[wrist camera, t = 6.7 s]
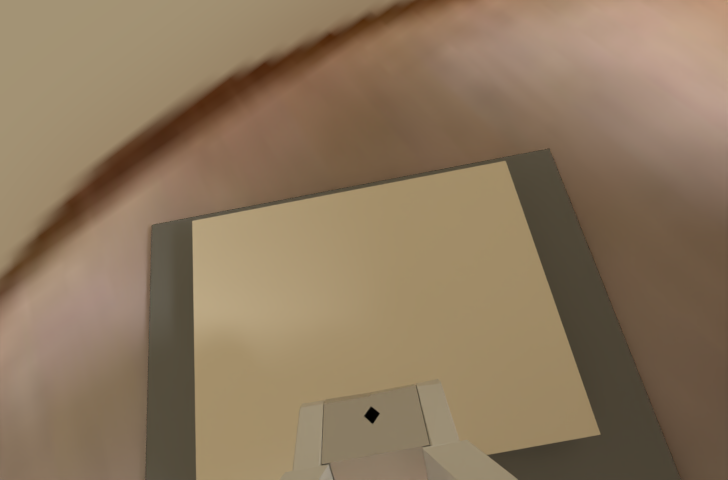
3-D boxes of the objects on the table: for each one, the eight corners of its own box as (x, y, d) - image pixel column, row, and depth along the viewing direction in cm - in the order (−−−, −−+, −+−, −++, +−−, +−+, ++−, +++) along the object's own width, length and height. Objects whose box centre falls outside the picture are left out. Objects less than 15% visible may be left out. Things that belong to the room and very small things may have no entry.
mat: (546, 153, 21) (549, 148, 21) (681, 496, 15) (688, 497, 15) (156, 228, 21) (151, 224, 21) (148, 590, 16) (142, 594, 15)
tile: (578, 431, 16) (496, 183, 20) (600, 434, 14) (505, 160, 18) (220, 495, 16) (211, 237, 21) (196, 507, 15) (192, 220, 19)
